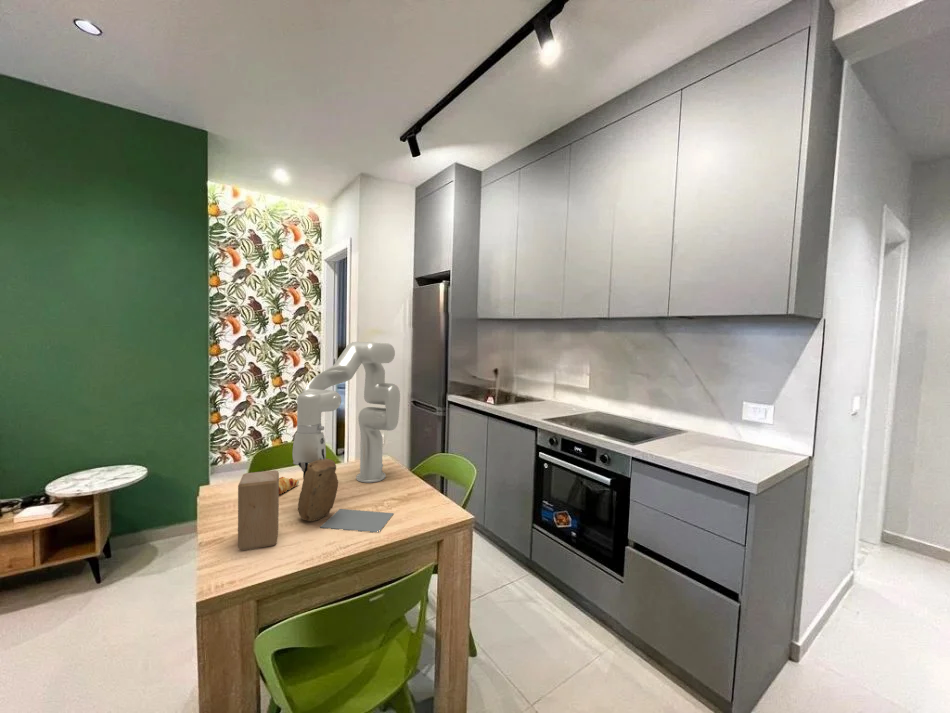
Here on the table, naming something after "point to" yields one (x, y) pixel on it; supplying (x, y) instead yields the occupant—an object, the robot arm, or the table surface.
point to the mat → (357, 520)
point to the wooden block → (258, 509)
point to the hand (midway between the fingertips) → (308, 481)
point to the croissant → (286, 484)
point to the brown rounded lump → (318, 490)
